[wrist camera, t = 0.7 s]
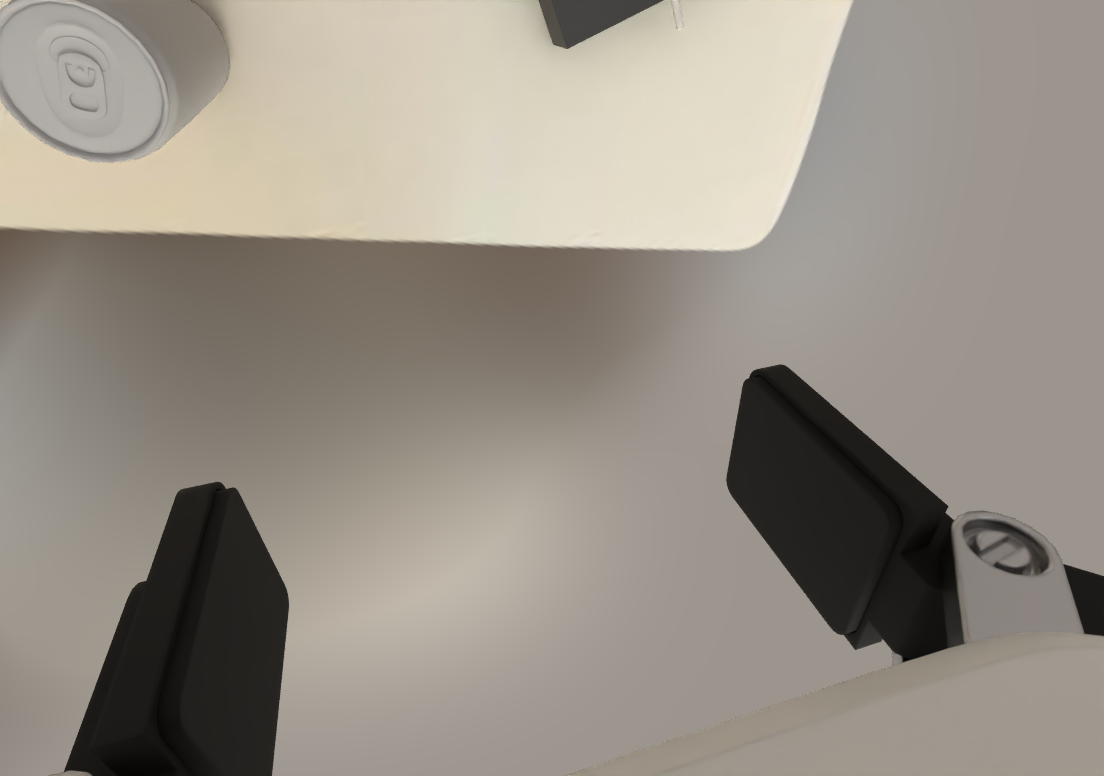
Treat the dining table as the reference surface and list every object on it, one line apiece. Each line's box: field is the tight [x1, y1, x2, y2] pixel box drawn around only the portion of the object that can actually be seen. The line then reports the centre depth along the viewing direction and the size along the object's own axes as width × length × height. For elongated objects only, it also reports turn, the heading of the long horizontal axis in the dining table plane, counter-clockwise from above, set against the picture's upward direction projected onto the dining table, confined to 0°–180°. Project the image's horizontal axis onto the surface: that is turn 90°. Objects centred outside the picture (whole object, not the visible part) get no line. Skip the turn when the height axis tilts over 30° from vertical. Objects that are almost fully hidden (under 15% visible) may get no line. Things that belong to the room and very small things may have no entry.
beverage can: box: [0, 0, 230, 163], centre depth 22 cm, size 5×5×12 cm
